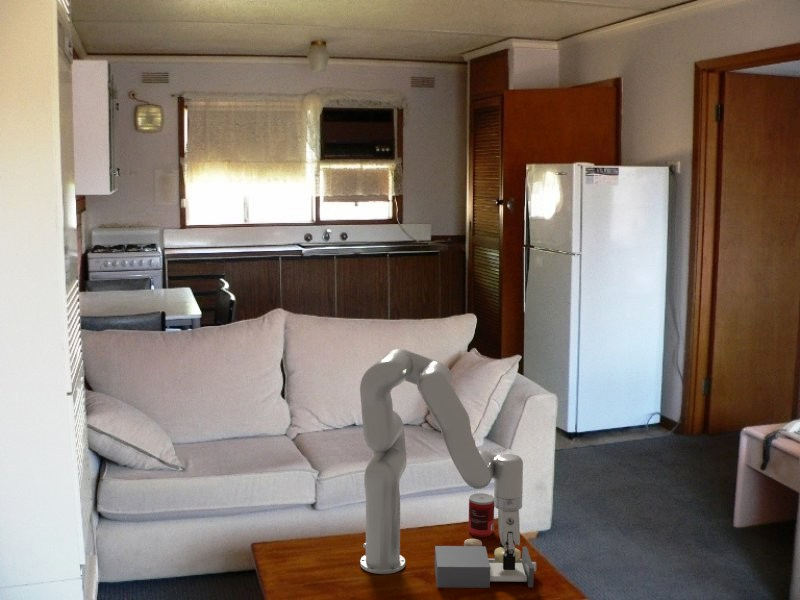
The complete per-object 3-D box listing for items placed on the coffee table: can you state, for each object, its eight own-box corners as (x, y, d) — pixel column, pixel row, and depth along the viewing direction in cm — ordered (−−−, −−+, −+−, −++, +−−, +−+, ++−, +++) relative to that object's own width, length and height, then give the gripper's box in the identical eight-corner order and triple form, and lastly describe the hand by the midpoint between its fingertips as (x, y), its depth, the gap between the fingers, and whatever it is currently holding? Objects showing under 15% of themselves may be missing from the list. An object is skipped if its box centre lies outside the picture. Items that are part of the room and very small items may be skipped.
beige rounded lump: (460, 555, 266) (460, 540, 266) (474, 552, 269) (475, 537, 268) (470, 562, 262) (470, 547, 261) (484, 558, 265) (485, 543, 264)
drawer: (478, 587, 247) (479, 567, 246) (474, 564, 260) (474, 546, 259) (539, 587, 247) (539, 568, 246) (531, 564, 260) (532, 546, 260)
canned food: (487, 525, 288) (488, 491, 286) (497, 535, 280) (498, 501, 279) (464, 528, 285) (465, 494, 284) (474, 539, 278) (475, 503, 276)
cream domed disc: (504, 565, 248) (504, 559, 248) (489, 556, 254) (489, 550, 254) (525, 560, 251) (525, 553, 251) (510, 550, 257) (510, 544, 257)
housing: (436, 587, 247) (437, 566, 246) (434, 565, 260) (435, 545, 259) (489, 587, 247) (490, 567, 246) (484, 565, 260) (485, 546, 259)
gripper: (526, 513, 242) (525, 577, 244) (517, 489, 259) (516, 549, 262) (497, 513, 242) (497, 577, 244) (490, 489, 259) (490, 549, 262)
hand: (507, 562), depth 253 cm, fingers closed on cream domed disc, 7 cm apart
